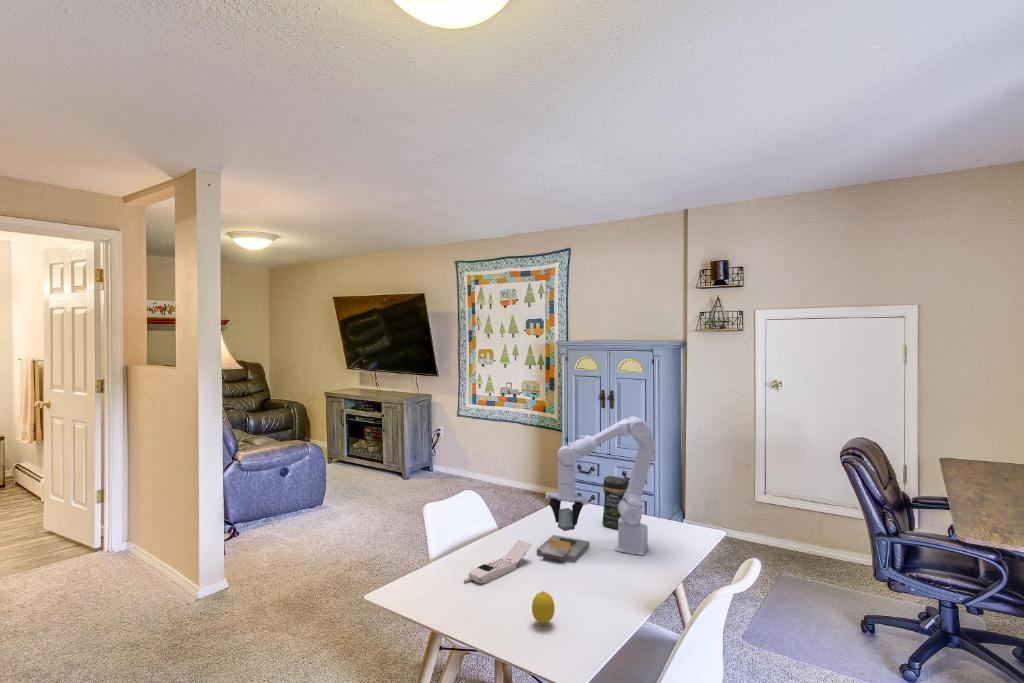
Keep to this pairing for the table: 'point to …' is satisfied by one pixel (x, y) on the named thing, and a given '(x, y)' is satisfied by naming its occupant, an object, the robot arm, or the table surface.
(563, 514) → the plug
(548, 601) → the lemon
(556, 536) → the socket front rim
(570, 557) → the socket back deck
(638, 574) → the table surface
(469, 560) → the table surface
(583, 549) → the socket near rim
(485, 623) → the table surface
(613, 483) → the coffee jar
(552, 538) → the socket far rim
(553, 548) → the panel
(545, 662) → the table surface
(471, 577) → the mobile phone
